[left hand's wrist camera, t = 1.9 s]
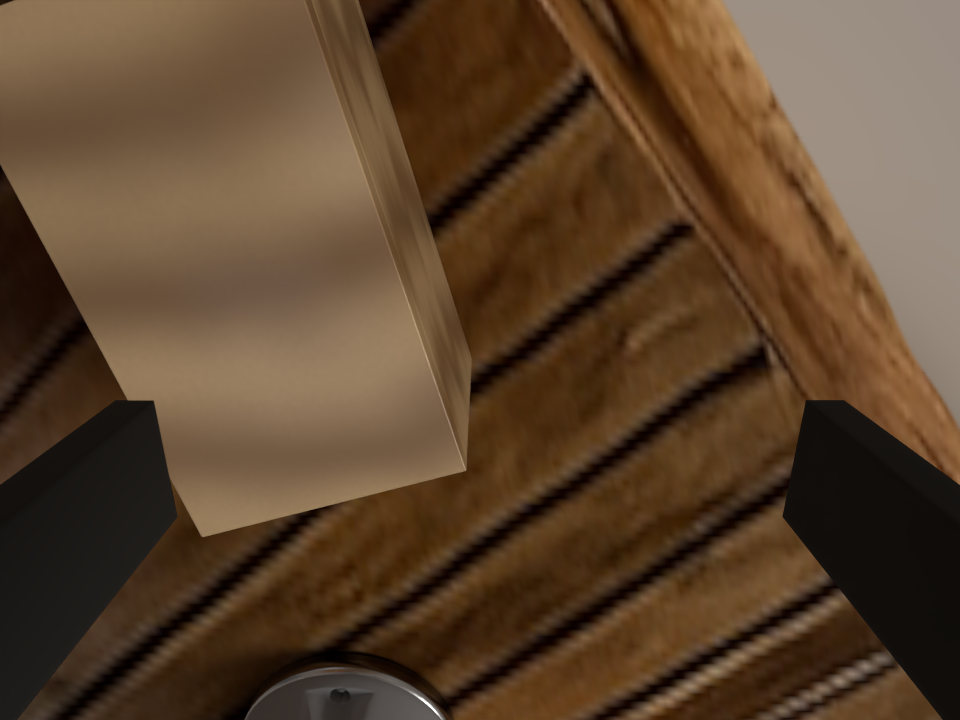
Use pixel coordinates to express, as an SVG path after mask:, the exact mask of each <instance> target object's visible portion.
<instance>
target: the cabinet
mask: <svg viewBox="0 0 960 720" xmlns="http://www.w3.org/2000/svg"><path fill="white" fill-rule="evenodd" d="M0 165H1V167H2V169H3V171H4V172H5V174H6V176H7V178H8V180H9V182H10V184H11V185H12V187H13V189H14V191H15V193H16V195H17V196H18V198H19V200H20V202H21V204H22V206H23V208H24V209H25V211H26V213H27V215H28V217H29V219H30V221H31V222H32V224H33V226H34V228H35V230H36V232H37V233H38V235H39V237H40V239H41V241H42V243H43V245H44V246H45V248H46V250H47V252H48V254H49V256H50V257H51V259H52V261H53V263H54V265H55V267H56V269H57V270H58V272H59V274H60V276H61V278H62V280H63V281H64V283H65V285H66V287H67V289H68V291H69V293H70V294H71V296H72V298H73V300H74V302H75V304H76V305H77V307H78V309H79V311H80V313H81V315H82V317H83V318H84V320H85V322H86V324H87V326H88V328H89V329H90V331H91V333H92V335H93V337H94V339H95V341H96V342H97V344H98V346H99V348H100V350H101V352H102V354H103V355H104V357H105V359H106V361H107V363H108V365H109V366H110V368H111V370H112V372H113V374H114V376H115V378H116V379H117V381H118V383H119V385H120V387H121V389H122V390H123V392H124V394H125V396H126V398H127V400H154V403H155V408H156V413H157V418H158V423H159V428H160V433H161V438H162V443H163V448H164V453H165V458H166V463H167V467H168V472H169V477H170V479H171V481H172V483H173V485H174V487H175V488H176V490H177V492H178V494H179V496H180V498H181V499H182V501H183V503H184V505H185V507H186V509H187V511H188V512H189V514H190V516H191V518H192V520H193V522H194V523H195V525H196V527H197V529H198V531H199V533H200V535H201V536H202V537H205V536H209V535H213V534H217V533H221V532H225V531H229V530H233V529H237V528H241V527H245V526H249V525H253V524H257V523H261V522H265V521H268V520H272V519H276V518H280V517H284V516H288V515H292V514H296V513H300V512H304V511H308V510H312V509H316V508H320V507H324V506H328V505H332V504H336V503H340V502H344V501H348V500H352V499H356V498H360V497H364V496H368V495H372V494H376V493H380V492H384V491H388V490H392V489H395V488H399V487H403V486H407V485H411V484H415V483H419V482H423V481H427V480H431V479H435V478H439V477H443V476H447V475H451V474H455V473H459V472H463V471H466V464H467V440H468V421H469V401H470V382H471V365H472V358H471V355H470V352H469V348H468V345H467V342H466V339H465V336H464V333H463V330H462V326H461V323H460V320H459V317H458V314H457V311H456V307H455V304H454V301H453V298H452V295H451V292H450V288H449V285H448V282H447V279H446V276H445V273H444V269H443V266H442V263H441V260H440V257H439V254H438V250H437V247H436V244H435V241H434V238H433V235H432V232H431V228H430V225H429V222H428V219H427V216H426V213H425V209H424V206H423V203H422V200H421V197H420V194H419V190H418V187H417V184H416V181H415V178H414V175H413V171H412V168H411V165H410V162H409V159H408V156H407V153H406V149H405V146H404V143H403V140H402V137H401V134H400V130H399V127H398V124H397V121H396V118H395V115H394V111H393V108H392V105H391V102H390V99H389V96H388V92H387V89H386V86H385V83H384V80H383V77H382V73H381V70H380V67H379V64H378V61H377V58H376V55H375V51H374V48H373V45H372V42H371V39H370V36H369V32H368V29H367V26H366V23H365V20H364V17H363V13H362V10H361V7H360V4H359V1H358V0H14V1H11V2H8V3H5V4H3V5H0Z"/></svg>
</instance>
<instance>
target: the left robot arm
mask: <svg viewBox="0 0 960 720" xmlns="http://www.w3.org/2000/svg"><path fill="white" fill-rule="evenodd" d="M176 518H177V512H176V507H175V502H174V497H173V492H172V487H171V482H170V477H169V472H168V467H167V463H166V458H165V453H164V448H163V443H162V438H161V433H160V428H159V423H158V418H157V413H156V408H155V403H154V400H116V401H114V402H113V403H112V404H110V405H109V406H107V407H106V408H105V409H103V410H102V411H101V412H99V413H98V414H97V415H95V416H94V417H92V418H91V419H90V420H88V421H87V422H86V423H84V424H83V425H82V426H80V427H79V428H77V429H76V430H75V431H73V432H72V433H71V434H69V435H68V436H67V437H65V438H64V439H62V440H61V441H60V442H58V443H57V444H56V445H54V446H53V447H52V448H50V449H49V450H47V451H46V452H45V453H43V454H42V455H41V456H39V457H38V458H36V459H35V460H34V461H32V462H31V463H30V464H28V465H27V466H26V467H24V468H23V469H21V470H20V471H19V472H17V473H16V474H15V475H13V476H12V477H11V478H9V479H8V480H6V481H5V482H4V483H2V484H1V485H0V720H17V719H18V718H19V717H20V715H21V714H22V713H23V712H24V710H25V709H26V708H27V707H28V705H29V704H30V703H31V701H32V700H33V699H34V698H35V696H36V695H37V694H38V693H39V691H40V690H41V689H42V688H43V686H44V685H45V684H46V682H47V681H48V680H49V679H50V677H51V676H52V675H53V674H54V672H55V671H56V670H57V669H58V667H59V666H60V665H61V663H62V662H63V661H64V660H65V658H66V657H67V656H68V655H69V653H70V652H71V651H72V650H73V648H74V647H75V646H76V644H77V643H78V642H79V641H80V639H81V638H82V637H83V636H84V634H85V633H86V632H87V631H88V629H89V628H90V627H91V625H92V624H93V623H94V622H95V620H96V619H97V618H98V617H99V615H100V614H101V613H102V612H103V610H104V609H105V608H106V606H107V605H108V604H109V603H110V601H111V600H112V599H113V598H114V596H115V595H116V594H117V593H118V591H119V590H120V589H121V587H122V586H123V585H124V584H125V582H126V581H127V580H128V579H129V577H130V576H131V575H132V574H133V572H134V571H135V570H136V569H137V567H138V566H139V565H140V563H141V562H142V561H143V560H144V558H145V557H146V556H147V555H148V553H149V552H150V551H151V550H152V548H153V547H154V546H155V544H156V543H157V542H158V541H159V539H160V538H161V537H162V536H163V534H164V533H165V532H166V531H167V529H168V528H169V527H170V525H171V524H172V523H173V522H174V520H175V519H176ZM783 518H784V519H785V520H786V522H787V523H788V524H789V525H790V527H791V528H792V529H793V531H794V532H795V533H796V534H797V536H798V537H799V538H800V539H801V541H802V542H803V543H804V544H805V546H806V547H807V548H808V550H809V551H810V552H811V553H812V555H813V556H814V557H815V558H816V560H817V561H818V562H819V563H820V565H821V566H822V567H823V569H824V570H825V571H826V572H827V574H828V575H829V576H830V577H831V579H832V580H833V581H834V582H835V584H836V585H837V586H838V587H839V589H840V590H841V591H842V593H843V594H844V595H845V596H846V598H847V599H848V600H849V601H850V603H851V604H852V605H853V606H854V608H855V609H856V610H857V612H858V613H859V614H860V615H861V617H862V618H863V619H864V620H865V622H866V623H867V624H868V625H869V627H870V628H871V629H872V631H873V632H874V633H875V634H876V636H877V637H878V638H879V639H880V641H881V642H882V643H883V644H884V646H885V647H886V648H887V650H888V651H889V652H890V653H891V655H892V656H893V657H894V658H895V660H896V661H897V662H898V663H899V665H900V666H901V667H902V669H903V670H904V671H905V672H906V674H907V675H908V676H909V677H910V679H911V680H912V681H913V682H914V684H915V685H916V686H917V688H918V689H919V690H920V691H921V693H922V694H923V695H924V696H925V698H926V699H927V700H928V701H929V703H930V704H931V705H932V707H933V708H934V709H935V710H936V712H937V713H938V714H939V715H940V717H941V718H942V719H943V720H960V485H959V484H958V483H956V482H955V481H954V480H952V479H951V478H949V477H948V476H947V475H945V474H944V473H943V472H941V471H940V470H939V469H937V468H936V467H934V466H933V465H932V464H930V463H929V462H928V461H926V460H925V459H924V458H922V457H921V456H919V455H918V454H917V453H915V452H914V451H913V450H911V449H910V448H908V447H907V446H906V445H904V444H903V443H902V442H900V441H899V440H898V439H896V438H895V437H893V436H892V435H891V434H889V433H888V432H887V431H885V430H884V429H883V428H881V427H880V426H878V425H877V424H876V423H874V422H873V421H872V420H870V419H869V418H868V417H866V416H865V415H863V414H862V413H861V412H859V411H858V410H857V409H855V408H854V407H853V406H851V405H850V404H848V403H847V402H846V401H844V400H806V403H805V408H804V413H803V418H802V423H801V428H800V433H799V438H798V443H797V448H796V453H795V458H794V463H793V467H792V472H791V477H790V482H789V487H788V492H787V497H786V502H785V507H784V512H783ZM245 720H454V719H453V716H452V713H451V711H450V709H449V707H448V705H447V703H446V702H445V700H444V699H443V697H442V696H441V695H440V694H439V692H438V691H437V690H436V689H435V688H434V687H433V686H432V685H430V684H429V683H428V682H427V681H426V680H424V679H423V678H421V677H420V676H419V675H417V674H415V673H414V672H412V671H410V670H408V669H406V668H404V667H402V666H400V665H398V664H395V663H392V662H390V661H386V660H383V659H379V658H375V657H370V656H364V655H355V654H332V655H323V656H317V657H313V658H309V659H305V660H302V661H299V662H296V663H294V664H292V665H289V666H287V667H285V668H284V669H282V670H280V671H279V672H277V673H276V674H274V675H273V676H272V677H270V678H269V679H268V680H267V681H266V682H265V683H264V684H263V685H262V686H261V688H260V689H259V690H258V692H257V693H256V695H255V696H254V698H253V700H252V703H251V705H250V707H249V710H248V712H247V715H246V717H245Z"/></svg>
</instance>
